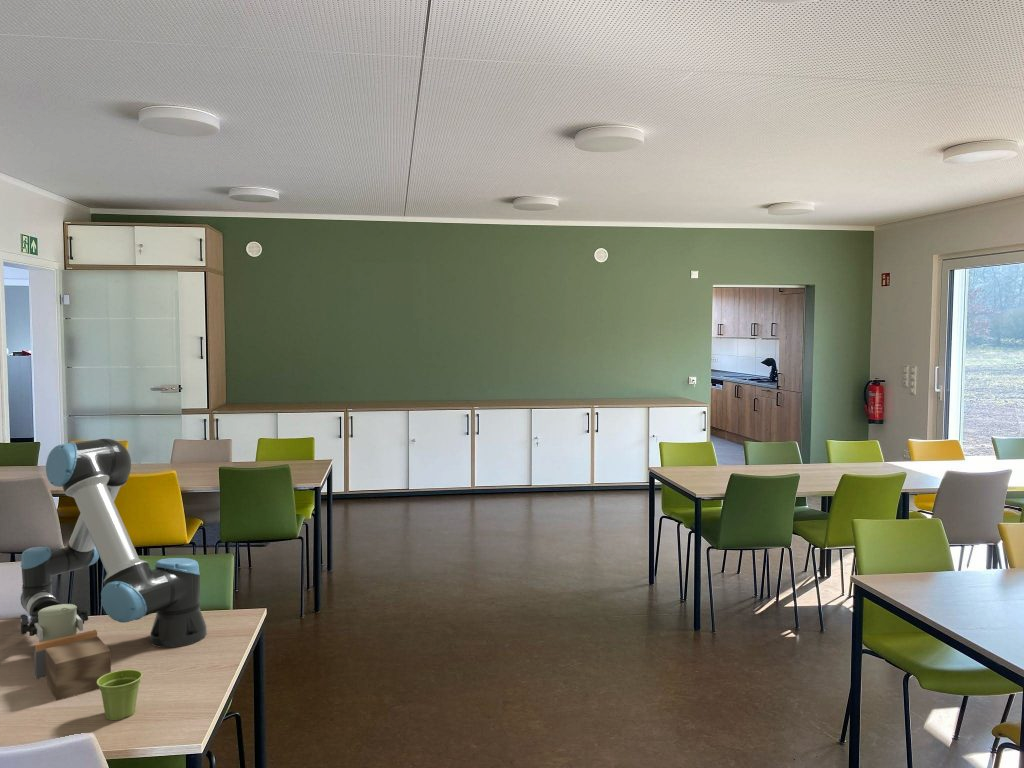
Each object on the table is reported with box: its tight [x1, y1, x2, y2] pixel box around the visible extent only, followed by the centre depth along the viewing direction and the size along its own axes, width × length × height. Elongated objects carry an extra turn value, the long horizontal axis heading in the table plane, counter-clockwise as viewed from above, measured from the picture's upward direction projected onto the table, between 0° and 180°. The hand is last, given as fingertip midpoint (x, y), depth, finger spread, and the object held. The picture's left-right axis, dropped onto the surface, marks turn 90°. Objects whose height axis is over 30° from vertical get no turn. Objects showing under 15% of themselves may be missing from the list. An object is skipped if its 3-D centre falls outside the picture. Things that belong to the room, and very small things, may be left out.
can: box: [38, 603, 78, 643], centre depth 205 cm, size 9×9×12 cm
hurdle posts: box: [33, 635, 99, 679], centre depth 198 cm, size 14×2×7 cm, turn 132°
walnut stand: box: [45, 636, 112, 701], centre depth 189 cm, size 12×12×9 cm
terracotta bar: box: [34, 629, 98, 651], centre depth 198 cm, size 14×2×2 cm, turn 132°
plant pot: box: [97, 669, 143, 721], centre depth 174 cm, size 9×9×9 cm
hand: (61, 630), depth 202 cm, fingers closed on can, 9 cm apart
